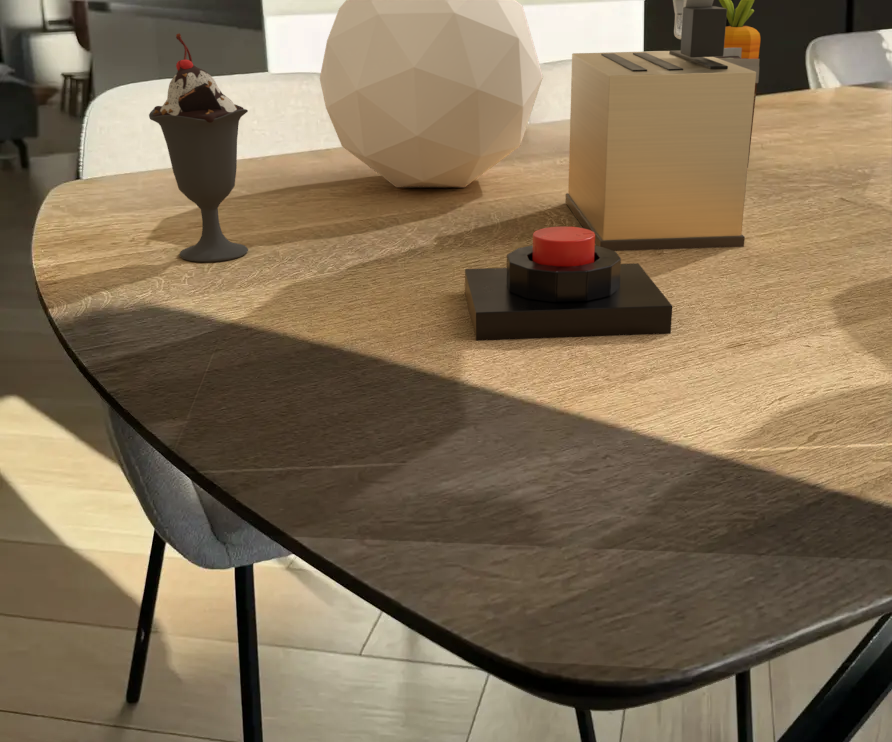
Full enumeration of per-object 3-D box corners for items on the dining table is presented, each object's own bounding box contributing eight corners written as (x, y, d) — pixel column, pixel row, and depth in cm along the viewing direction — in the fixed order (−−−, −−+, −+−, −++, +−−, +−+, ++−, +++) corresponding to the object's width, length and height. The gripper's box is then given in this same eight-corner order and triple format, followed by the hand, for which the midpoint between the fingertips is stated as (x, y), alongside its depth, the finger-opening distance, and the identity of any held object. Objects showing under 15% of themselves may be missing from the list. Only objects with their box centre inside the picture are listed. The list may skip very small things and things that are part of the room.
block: (637, 289, 71) (640, 234, 70) (670, 334, 63) (674, 274, 61) (464, 295, 71) (464, 240, 69) (476, 341, 62) (475, 280, 61)
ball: (397, 268, 102) (251, 97, 91) (422, 153, 116) (298, -8, 105) (578, 173, 93) (440, -30, 82) (582, 60, 107) (464, -126, 96)
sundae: (199, 239, 85) (175, 30, 79) (276, 245, 83) (258, 31, 77) (148, 261, 80) (118, 38, 73) (229, 268, 77) (205, 39, 71)
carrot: (702, 137, 123) (712, -10, 117) (710, 130, 127) (721, -12, 121) (747, 139, 121) (761, -10, 115) (755, 132, 125) (768, -12, 119)
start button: (588, 254, 67) (589, 225, 66) (599, 270, 64) (600, 240, 63) (528, 256, 67) (529, 227, 66) (536, 272, 64) (536, 242, 63)
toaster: (686, 199, 95) (697, 47, 90) (744, 247, 80) (760, 68, 75) (565, 202, 94) (569, 50, 89) (600, 252, 79) (607, 72, 74)
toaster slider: (712, 52, 82) (715, 6, 81) (723, 56, 80) (727, 8, 78) (680, 53, 82) (683, 7, 81) (690, 57, 79) (693, 9, 78)
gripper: (799, -186, 69) (775, 52, 74) (710, -159, 87) (696, 29, 93) (697, -184, 68) (682, 54, 74) (630, -158, 87) (621, 31, 93)
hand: (689, 40), depth 84 cm, fingers closed
